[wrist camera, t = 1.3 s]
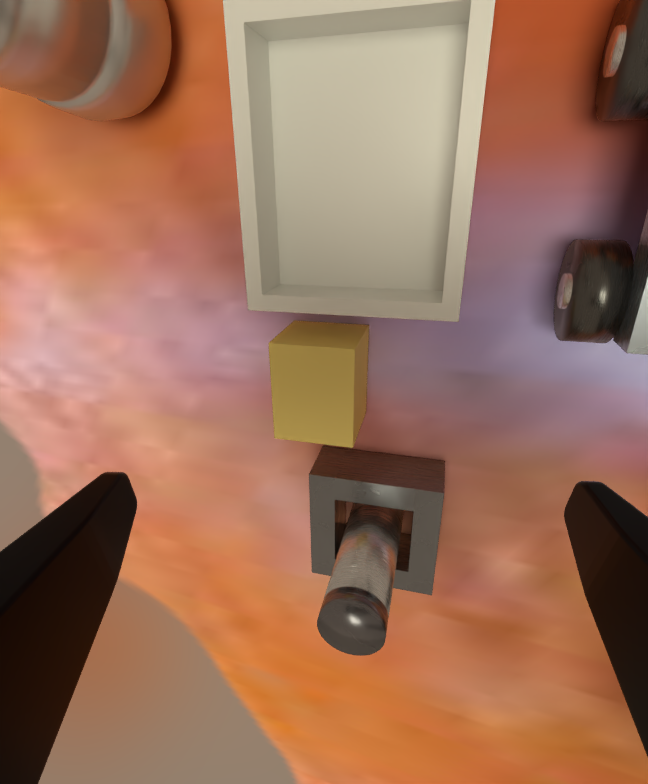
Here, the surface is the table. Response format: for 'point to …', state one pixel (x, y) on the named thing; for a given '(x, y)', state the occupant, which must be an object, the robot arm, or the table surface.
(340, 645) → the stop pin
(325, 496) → the pin bracket
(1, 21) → the plastic bottle
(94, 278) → the table surface
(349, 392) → the block
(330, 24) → the tray
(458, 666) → the table surface
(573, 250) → the trolley
